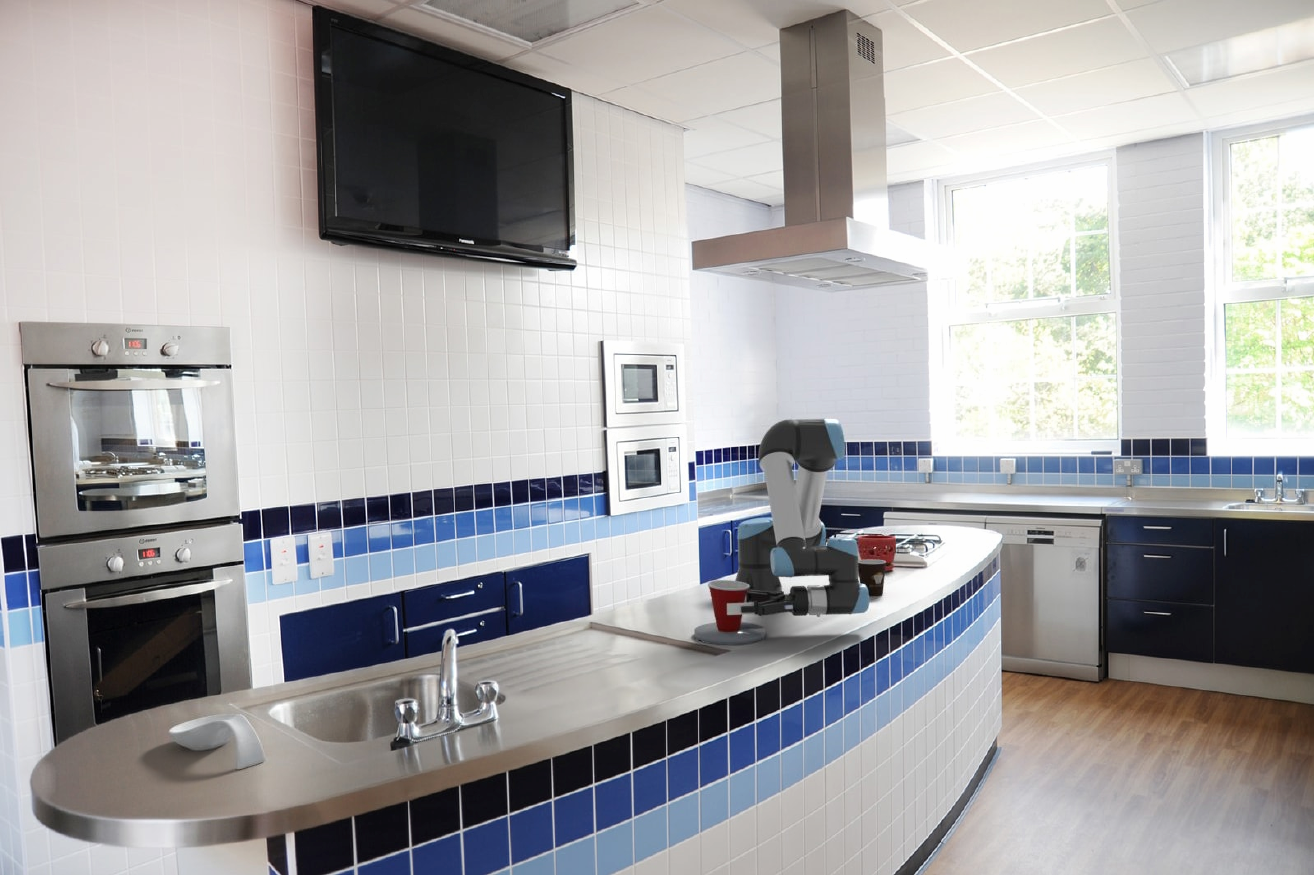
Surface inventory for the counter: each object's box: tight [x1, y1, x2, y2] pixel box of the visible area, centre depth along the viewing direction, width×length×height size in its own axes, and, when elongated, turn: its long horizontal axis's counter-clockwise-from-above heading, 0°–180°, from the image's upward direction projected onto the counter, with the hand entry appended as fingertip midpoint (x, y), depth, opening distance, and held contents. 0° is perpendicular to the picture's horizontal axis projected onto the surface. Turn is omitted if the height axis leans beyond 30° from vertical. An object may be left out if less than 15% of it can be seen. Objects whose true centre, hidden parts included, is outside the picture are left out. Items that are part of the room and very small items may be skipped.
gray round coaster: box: [693, 621, 766, 645], centre depth 228 cm, size 18×18×2 cm
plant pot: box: [857, 534, 897, 572], centre depth 317 cm, size 13×13×12 cm
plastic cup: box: [707, 579, 750, 632], centre depth 228 cm, size 11×11×12 cm
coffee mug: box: [858, 559, 886, 597], centre depth 276 cm, size 12×9×10 cm
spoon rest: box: [168, 713, 266, 770], centre depth 157 cm, size 24×12×7 cm, turn 50°
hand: (723, 603), depth 228 cm, fingers open, 13 cm apart
